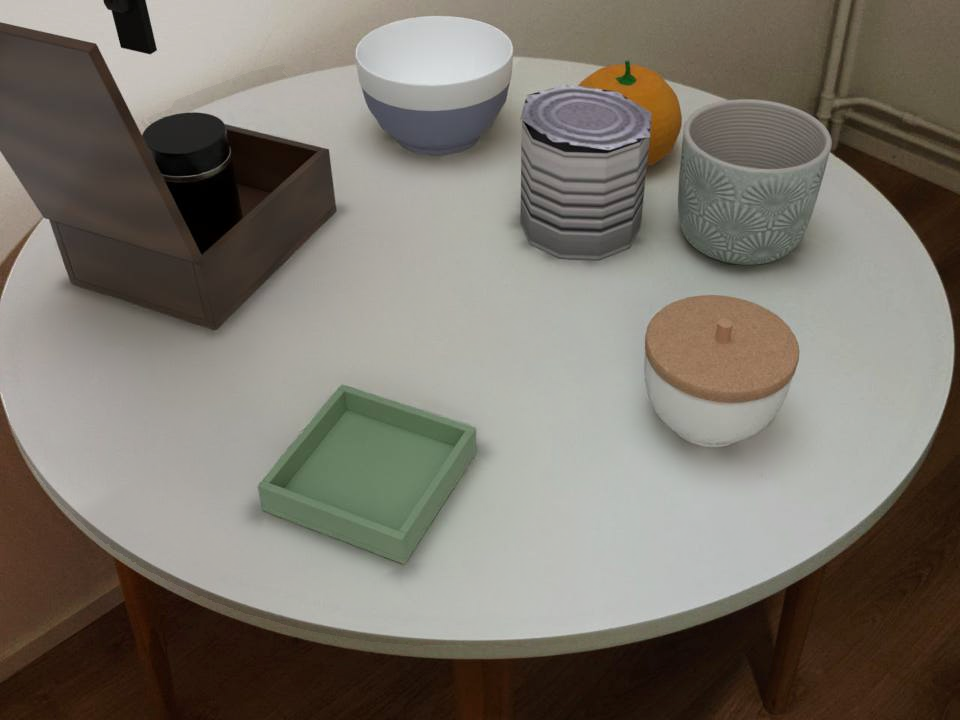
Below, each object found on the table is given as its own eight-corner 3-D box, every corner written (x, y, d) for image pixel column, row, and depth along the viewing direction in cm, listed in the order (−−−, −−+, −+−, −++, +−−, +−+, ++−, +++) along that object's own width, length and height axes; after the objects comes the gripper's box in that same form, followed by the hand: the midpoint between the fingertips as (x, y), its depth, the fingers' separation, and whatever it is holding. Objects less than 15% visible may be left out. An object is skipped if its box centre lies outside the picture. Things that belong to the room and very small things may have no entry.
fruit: (542, 139, 111) (545, 50, 104) (639, 115, 114) (647, 27, 108) (598, 194, 103) (605, 101, 96) (699, 166, 106) (713, 75, 100)
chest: (203, 176, 106) (190, 115, 102) (336, 211, 101) (329, 148, 97) (70, 284, 93) (48, 219, 89) (215, 330, 88) (200, 265, 83)
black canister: (216, 269, 93) (192, 161, 86) (152, 250, 95) (123, 143, 88) (261, 227, 98) (242, 121, 91) (199, 210, 100) (175, 105, 93)
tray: (404, 564, 70) (402, 539, 68) (262, 510, 73) (256, 485, 72) (476, 452, 77) (476, 427, 75) (344, 408, 81) (341, 383, 79)
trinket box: (807, 453, 77) (834, 356, 70) (671, 485, 75) (686, 388, 68) (740, 359, 84) (759, 265, 78) (615, 386, 82) (624, 291, 76)
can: (522, 190, 103) (524, 77, 96) (639, 194, 103) (650, 81, 95) (516, 259, 95) (517, 141, 87) (643, 264, 94) (656, 145, 86)
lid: (-84, 2, 72) (-93, 10, 71) (96, 43, 67) (88, 51, 66) (50, 210, 88) (43, 218, 88) (202, 255, 83) (196, 264, 83)
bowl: (332, 145, 110) (322, 59, 104) (421, 85, 120) (417, 3, 114) (457, 189, 104) (454, 101, 97) (540, 122, 114) (543, 37, 107)
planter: (786, 294, 91) (811, 185, 83) (650, 256, 95) (663, 150, 88) (821, 221, 99) (847, 116, 92) (694, 189, 103) (709, 87, 96)
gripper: (37, -263, 57) (128, 93, 72) (290, -337, 74) (324, -37, 88) (-64, -275, 60) (44, 72, 74) (203, -344, 77) (249, -50, 91)
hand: (196, 13), depth 81 cm, fingers open, 13 cm apart
